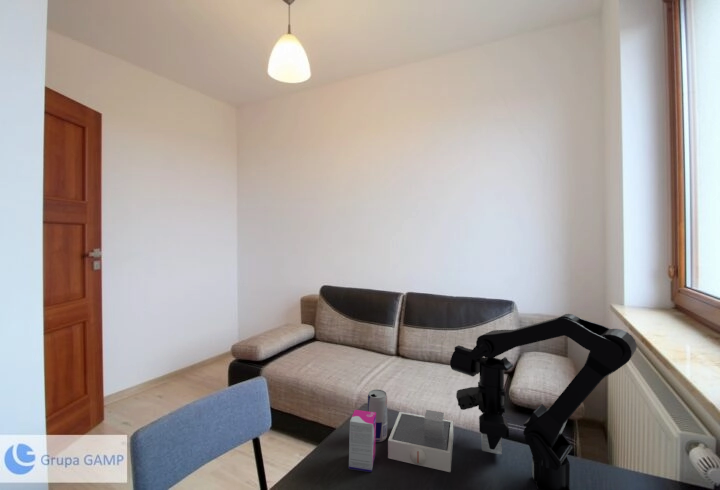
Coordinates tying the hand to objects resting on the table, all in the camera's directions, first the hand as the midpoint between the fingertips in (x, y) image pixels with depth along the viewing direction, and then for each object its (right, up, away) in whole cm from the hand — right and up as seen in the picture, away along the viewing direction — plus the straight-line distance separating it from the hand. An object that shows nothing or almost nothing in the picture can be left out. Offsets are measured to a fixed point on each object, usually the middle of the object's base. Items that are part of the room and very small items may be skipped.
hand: (491, 443), depth 81 cm
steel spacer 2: (0, -1, 0) cm, 1 cm away
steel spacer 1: (-14, +2, +2) cm, 14 cm away
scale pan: (-17, +1, +3) cm, 17 cm away
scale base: (-17, -3, +3) cm, 17 cm away
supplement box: (-33, -3, -3) cm, 33 cm away
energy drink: (-29, -3, +7) cm, 30 cm away
